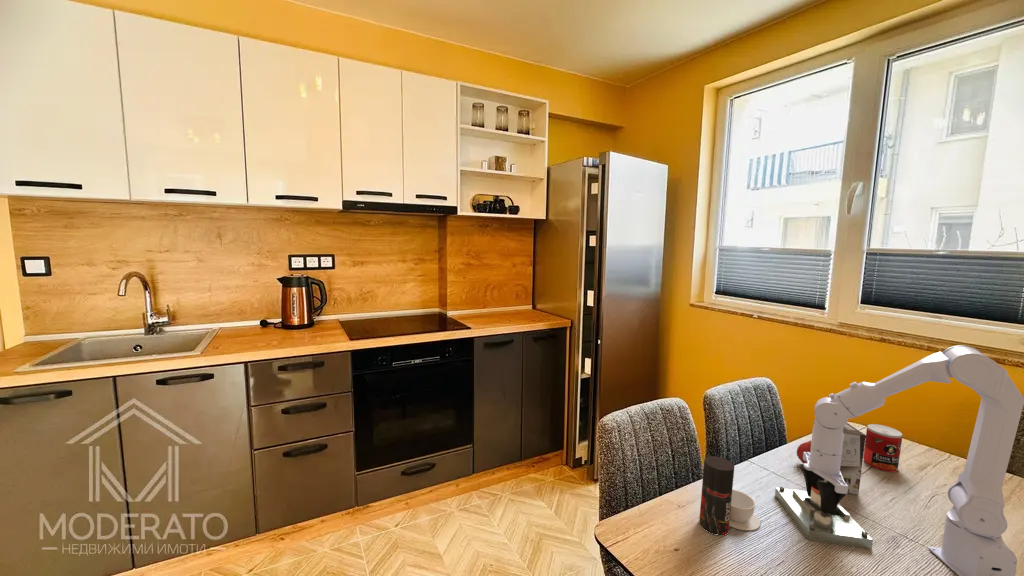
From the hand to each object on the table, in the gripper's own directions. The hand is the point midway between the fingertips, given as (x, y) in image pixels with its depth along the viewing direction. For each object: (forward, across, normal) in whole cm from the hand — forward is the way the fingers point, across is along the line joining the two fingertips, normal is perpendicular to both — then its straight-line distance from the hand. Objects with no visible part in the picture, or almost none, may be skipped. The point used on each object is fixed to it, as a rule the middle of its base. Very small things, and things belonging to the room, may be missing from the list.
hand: (819, 504), depth 95 cm
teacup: (+3, +5, -20) cm, 21 cm away
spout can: (+3, 0, 0) cm, 3 cm away
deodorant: (+3, +10, -26) cm, 28 cm away
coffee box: (+3, -16, +12) cm, 20 cm away
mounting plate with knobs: (+3, +2, -1) cm, 4 cm away
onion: (+3, -24, +9) cm, 26 cm away
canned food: (+3, -30, +31) cm, 43 cm away
